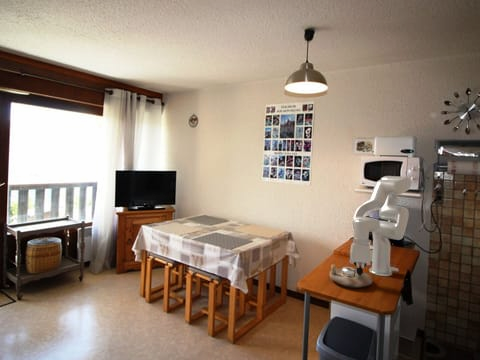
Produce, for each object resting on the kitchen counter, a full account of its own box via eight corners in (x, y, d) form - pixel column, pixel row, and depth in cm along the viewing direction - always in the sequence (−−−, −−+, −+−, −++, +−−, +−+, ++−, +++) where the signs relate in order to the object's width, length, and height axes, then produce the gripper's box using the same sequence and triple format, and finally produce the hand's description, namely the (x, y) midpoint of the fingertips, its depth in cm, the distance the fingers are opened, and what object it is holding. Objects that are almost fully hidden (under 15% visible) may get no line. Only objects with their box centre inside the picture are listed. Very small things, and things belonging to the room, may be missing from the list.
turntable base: (362, 278, 168) (363, 274, 168) (368, 289, 153) (368, 285, 153) (333, 275, 172) (334, 271, 172) (336, 286, 156) (336, 282, 156)
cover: (354, 273, 165) (355, 267, 165) (356, 278, 158) (356, 271, 158) (341, 272, 167) (341, 266, 167) (342, 276, 160) (342, 270, 160)
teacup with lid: (376, 259, 202) (376, 242, 201) (374, 262, 194) (375, 245, 194) (357, 256, 208) (358, 240, 208) (355, 259, 201) (356, 242, 200)
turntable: (367, 273, 170) (368, 262, 170) (376, 288, 149) (376, 276, 149) (328, 269, 175) (328, 258, 175) (331, 284, 154) (331, 272, 154)
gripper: (373, 240, 162) (372, 273, 163) (345, 239, 165) (344, 270, 166) (377, 244, 154) (375, 278, 155) (347, 242, 158) (346, 275, 159)
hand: (359, 274), depth 161 cm, fingers closed
